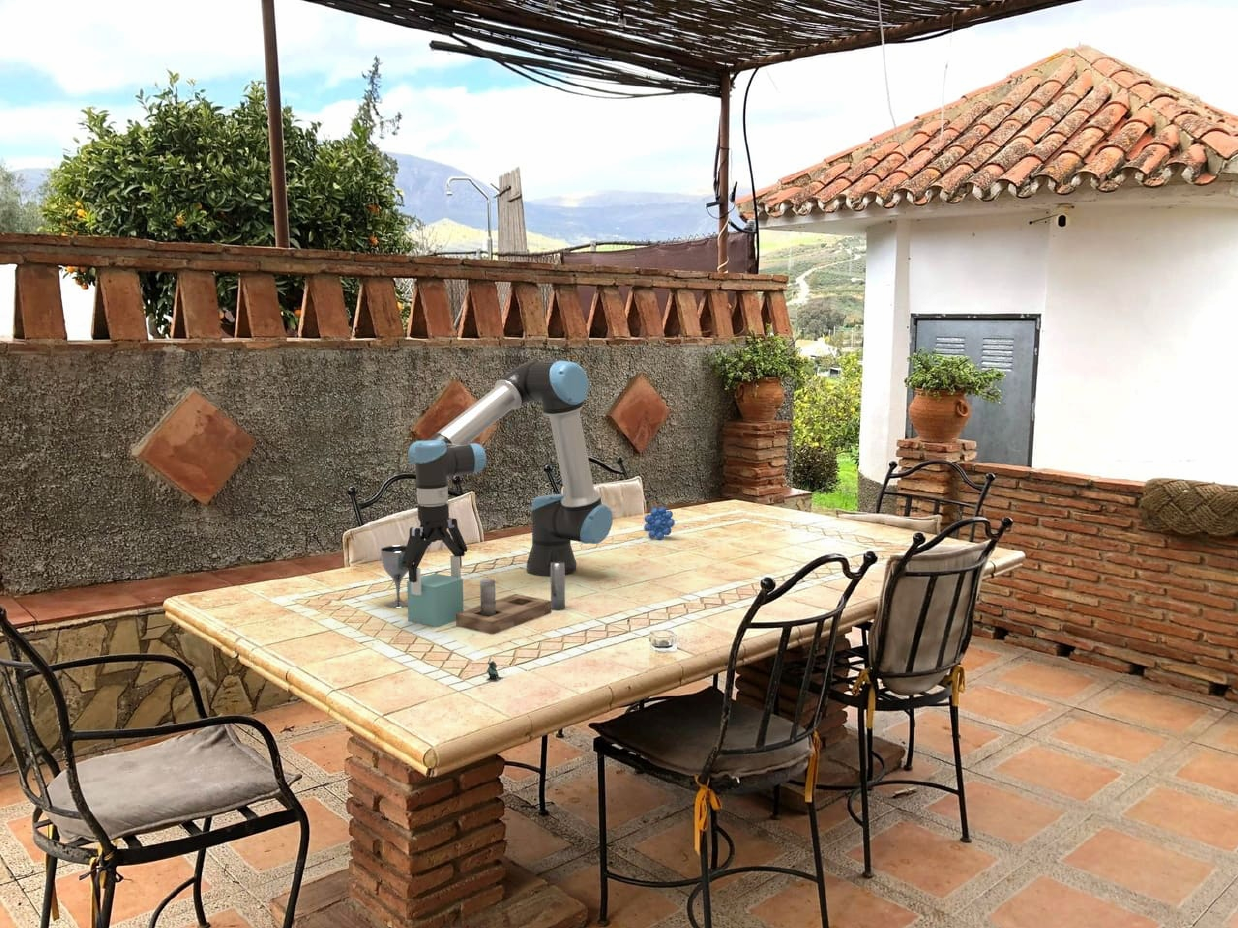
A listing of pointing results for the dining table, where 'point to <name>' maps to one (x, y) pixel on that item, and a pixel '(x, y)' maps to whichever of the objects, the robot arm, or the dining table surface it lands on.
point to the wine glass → (395, 570)
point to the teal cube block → (436, 600)
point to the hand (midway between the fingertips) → (436, 587)
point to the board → (501, 610)
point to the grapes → (659, 522)
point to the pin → (557, 585)
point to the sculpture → (493, 672)
